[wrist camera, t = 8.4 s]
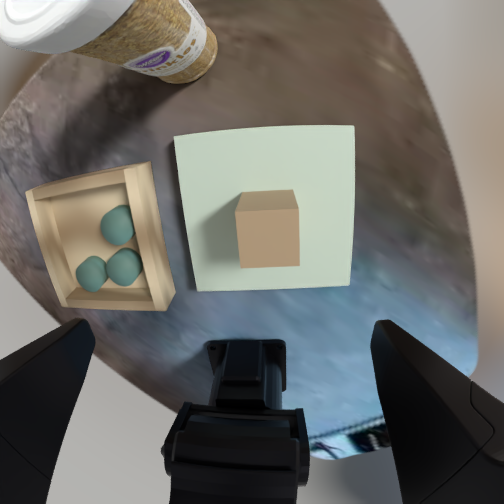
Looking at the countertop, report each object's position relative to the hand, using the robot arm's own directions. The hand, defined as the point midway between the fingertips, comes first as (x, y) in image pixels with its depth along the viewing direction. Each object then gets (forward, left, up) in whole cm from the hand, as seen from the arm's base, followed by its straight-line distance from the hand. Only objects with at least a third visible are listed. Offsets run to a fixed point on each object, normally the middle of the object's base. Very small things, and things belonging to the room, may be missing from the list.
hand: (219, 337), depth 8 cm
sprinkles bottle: (+11, +3, -12) cm, 17 cm away
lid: (0, -1, -12) cm, 12 cm away
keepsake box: (-1, +11, -12) cm, 17 cm away
